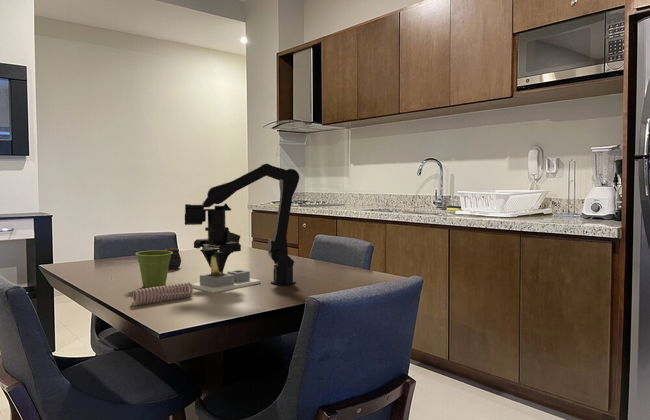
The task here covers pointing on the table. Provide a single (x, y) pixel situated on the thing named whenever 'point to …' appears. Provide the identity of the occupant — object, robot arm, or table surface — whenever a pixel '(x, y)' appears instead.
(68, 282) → the table surface
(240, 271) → the fitting board
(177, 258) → the mate gourd
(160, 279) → the plant pot
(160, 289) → the coil
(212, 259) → the cylinder
